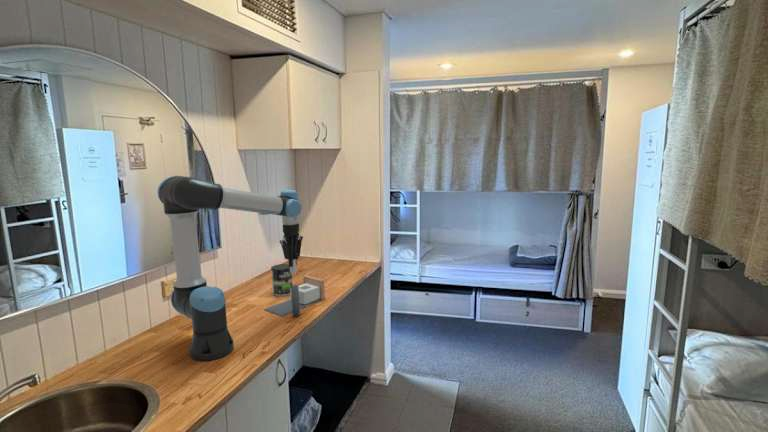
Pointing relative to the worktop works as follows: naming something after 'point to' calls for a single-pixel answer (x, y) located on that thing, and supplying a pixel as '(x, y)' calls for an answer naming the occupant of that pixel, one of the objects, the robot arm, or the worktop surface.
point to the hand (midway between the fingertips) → (293, 272)
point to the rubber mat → (286, 307)
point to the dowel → (295, 300)
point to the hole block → (308, 293)
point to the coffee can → (281, 279)
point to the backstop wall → (316, 284)
